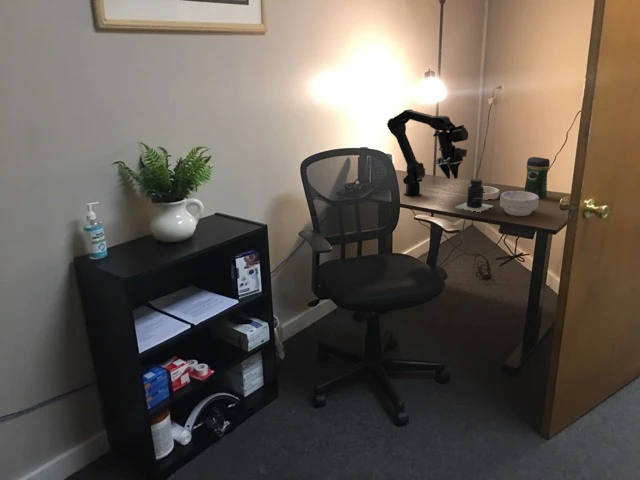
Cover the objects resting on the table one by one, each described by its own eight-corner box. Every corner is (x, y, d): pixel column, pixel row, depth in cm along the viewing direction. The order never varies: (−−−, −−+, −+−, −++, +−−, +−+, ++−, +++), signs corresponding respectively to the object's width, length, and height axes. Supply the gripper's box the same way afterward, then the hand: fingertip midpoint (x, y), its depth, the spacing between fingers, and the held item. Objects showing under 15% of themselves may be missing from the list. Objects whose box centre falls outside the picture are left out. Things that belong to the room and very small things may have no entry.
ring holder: (461, 195, 252) (462, 189, 251) (481, 190, 259) (482, 184, 258) (484, 201, 241) (484, 195, 240) (504, 196, 248) (505, 190, 247)
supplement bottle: (476, 209, 228) (478, 182, 224) (463, 206, 233) (465, 179, 229) (485, 205, 232) (487, 179, 228) (471, 203, 237) (473, 177, 233)
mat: (455, 207, 233) (455, 206, 233) (469, 202, 240) (469, 201, 240) (479, 212, 225) (479, 211, 224) (493, 206, 232) (493, 205, 232)
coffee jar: (548, 197, 244) (553, 157, 238) (539, 200, 240) (543, 160, 233) (530, 193, 251) (534, 155, 245) (520, 196, 247) (524, 157, 241)
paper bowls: (534, 220, 213) (536, 201, 210) (495, 215, 220) (497, 197, 217) (539, 210, 225) (541, 192, 223) (503, 206, 233) (504, 189, 230)
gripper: (471, 139, 227) (477, 174, 229) (455, 141, 245) (461, 174, 248) (446, 145, 226) (453, 180, 228) (432, 147, 244) (439, 179, 247)
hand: (452, 178), depth 238 cm, fingers open, 9 cm apart
